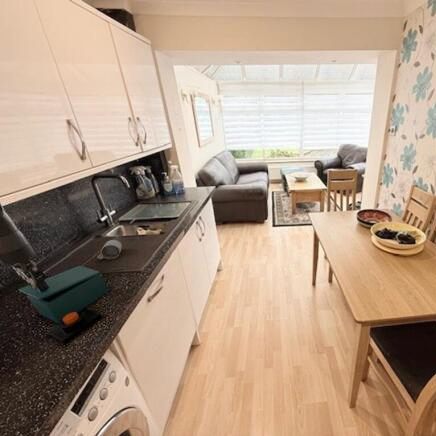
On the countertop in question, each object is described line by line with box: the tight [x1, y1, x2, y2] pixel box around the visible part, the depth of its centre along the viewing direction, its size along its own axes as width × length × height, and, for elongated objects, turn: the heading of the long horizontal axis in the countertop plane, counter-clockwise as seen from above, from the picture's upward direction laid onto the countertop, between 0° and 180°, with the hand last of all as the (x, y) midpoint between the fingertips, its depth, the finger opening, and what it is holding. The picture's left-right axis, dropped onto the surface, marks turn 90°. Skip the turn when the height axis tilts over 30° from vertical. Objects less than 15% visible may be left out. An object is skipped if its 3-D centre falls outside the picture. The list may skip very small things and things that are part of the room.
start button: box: [63, 312, 79, 324], centre depth 78 cm, size 4×4×2 cm
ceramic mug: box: [97, 239, 123, 261], centre depth 118 cm, size 11×8×8 cm
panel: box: [46, 307, 102, 345], centre depth 79 cm, size 11×9×4 cm
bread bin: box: [26, 273, 110, 324], centre depth 89 cm, size 17×13×9 cm
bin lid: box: [18, 265, 101, 300], centre depth 85 cm, size 18×13×5 cm
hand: (40, 287), depth 81 cm, fingers closed on bin lid, 5 cm apart
